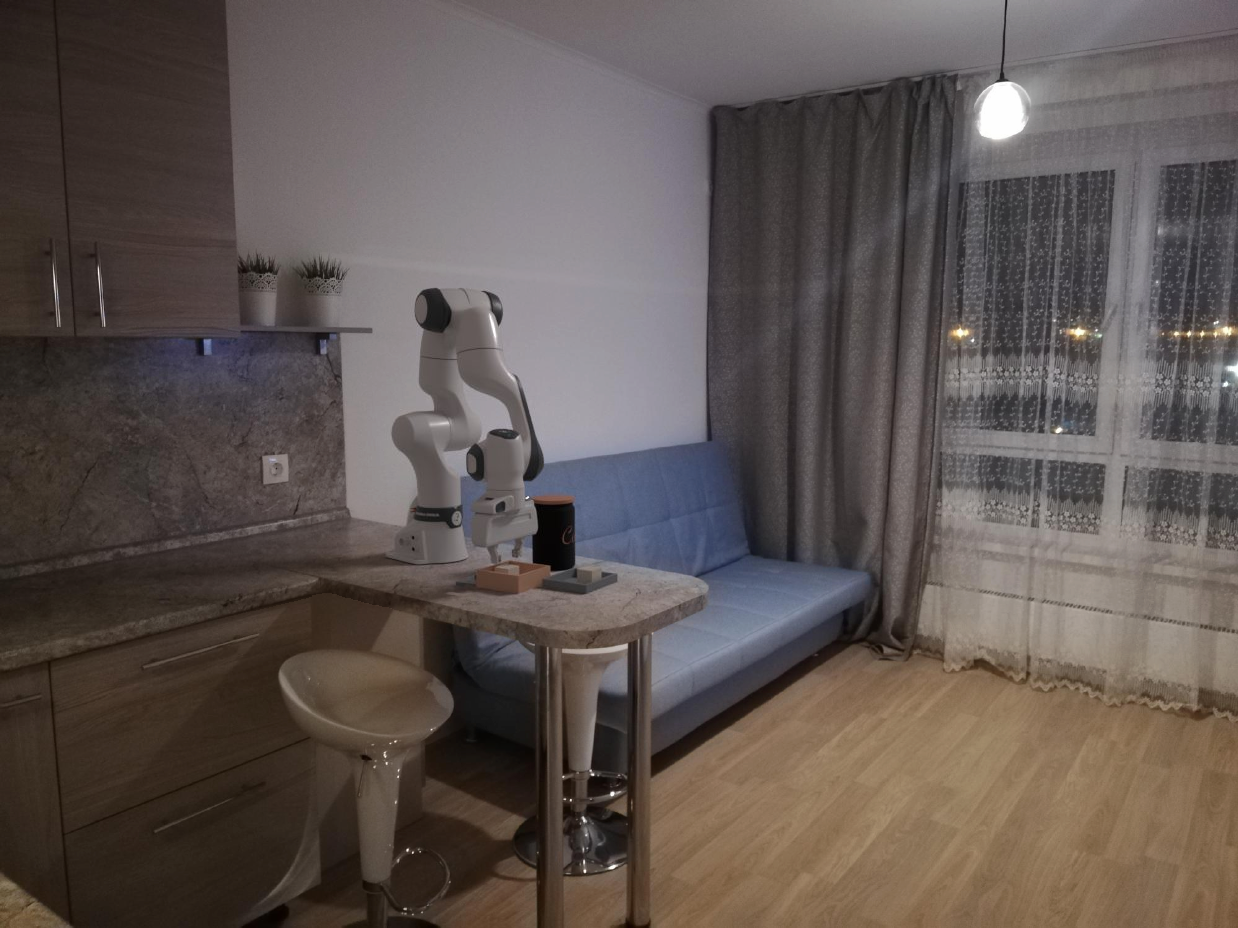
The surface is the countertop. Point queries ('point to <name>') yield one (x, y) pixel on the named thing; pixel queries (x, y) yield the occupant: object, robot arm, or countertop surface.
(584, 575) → the stone
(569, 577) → the tray
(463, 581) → the tray lid
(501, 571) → the cream cube
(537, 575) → the terracotta bin
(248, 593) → the countertop surface
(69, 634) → the countertop surface
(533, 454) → the robot arm
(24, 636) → the countertop surface
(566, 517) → the coffee jar
